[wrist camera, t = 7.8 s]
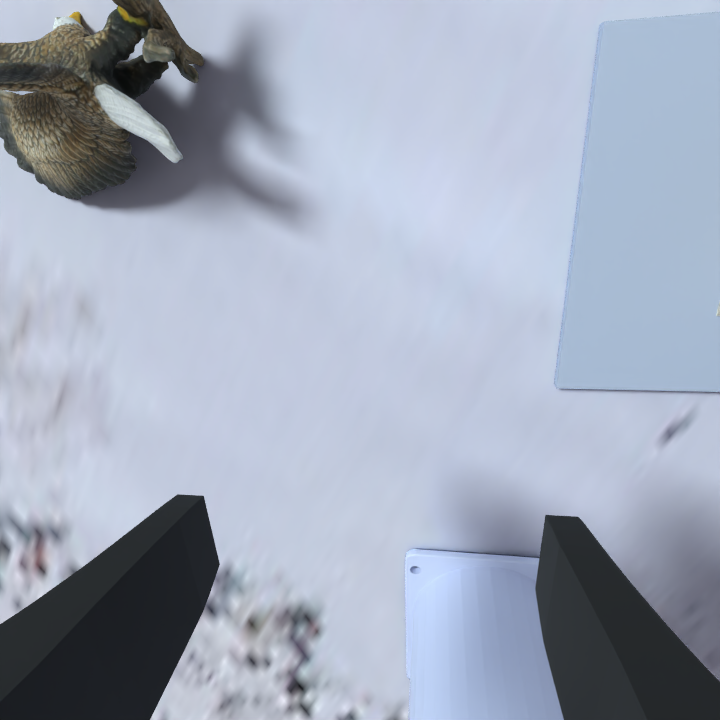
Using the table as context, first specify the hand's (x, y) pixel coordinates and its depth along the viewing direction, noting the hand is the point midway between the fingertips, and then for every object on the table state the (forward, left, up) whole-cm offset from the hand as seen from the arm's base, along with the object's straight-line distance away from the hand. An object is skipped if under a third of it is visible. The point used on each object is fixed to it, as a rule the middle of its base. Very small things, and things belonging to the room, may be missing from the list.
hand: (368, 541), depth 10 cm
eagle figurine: (+10, +11, -11) cm, 18 cm away
